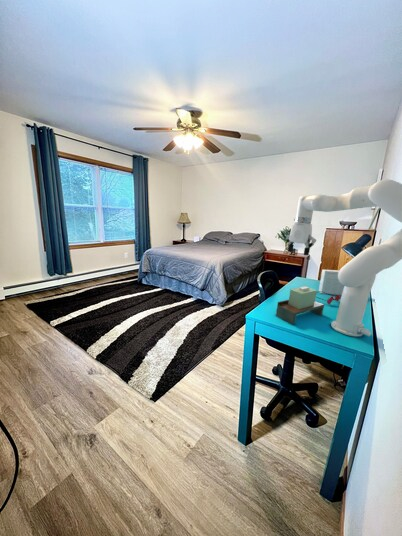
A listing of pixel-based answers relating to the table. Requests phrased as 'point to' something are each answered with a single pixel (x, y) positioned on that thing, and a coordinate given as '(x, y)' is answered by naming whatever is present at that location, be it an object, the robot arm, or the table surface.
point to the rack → (296, 310)
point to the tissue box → (302, 297)
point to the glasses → (331, 298)
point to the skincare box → (330, 282)
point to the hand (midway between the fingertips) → (297, 253)
